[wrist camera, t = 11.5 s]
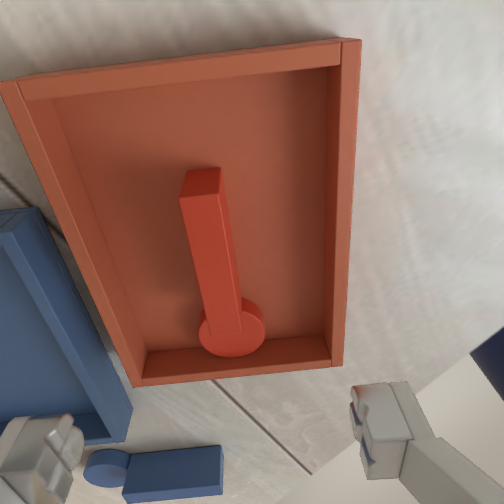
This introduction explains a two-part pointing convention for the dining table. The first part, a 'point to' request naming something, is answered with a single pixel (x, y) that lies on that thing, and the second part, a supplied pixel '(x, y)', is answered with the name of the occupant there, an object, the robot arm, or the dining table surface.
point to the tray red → (236, 189)
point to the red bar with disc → (217, 268)
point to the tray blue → (51, 338)
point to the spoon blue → (158, 473)
